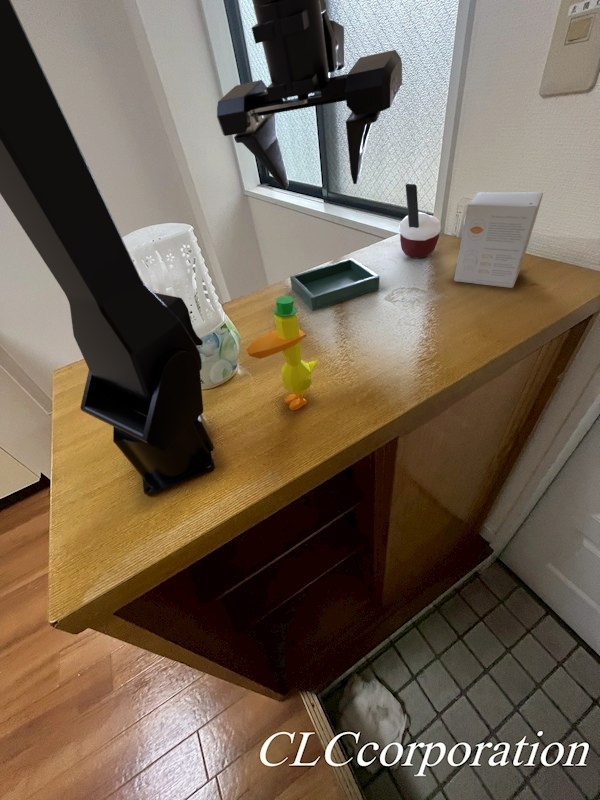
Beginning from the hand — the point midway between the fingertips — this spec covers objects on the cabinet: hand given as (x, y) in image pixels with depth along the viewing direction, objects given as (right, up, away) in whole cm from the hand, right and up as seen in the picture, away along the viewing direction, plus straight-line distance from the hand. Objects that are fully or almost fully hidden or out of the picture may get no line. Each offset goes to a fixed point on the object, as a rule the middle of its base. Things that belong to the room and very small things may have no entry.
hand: (319, 185), depth 42 cm
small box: (+25, -8, +9) cm, 28 cm away
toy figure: (-3, -27, -5) cm, 27 cm away
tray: (+3, -9, +13) cm, 16 cm away
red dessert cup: (+18, -1, +18) cm, 25 cm away
